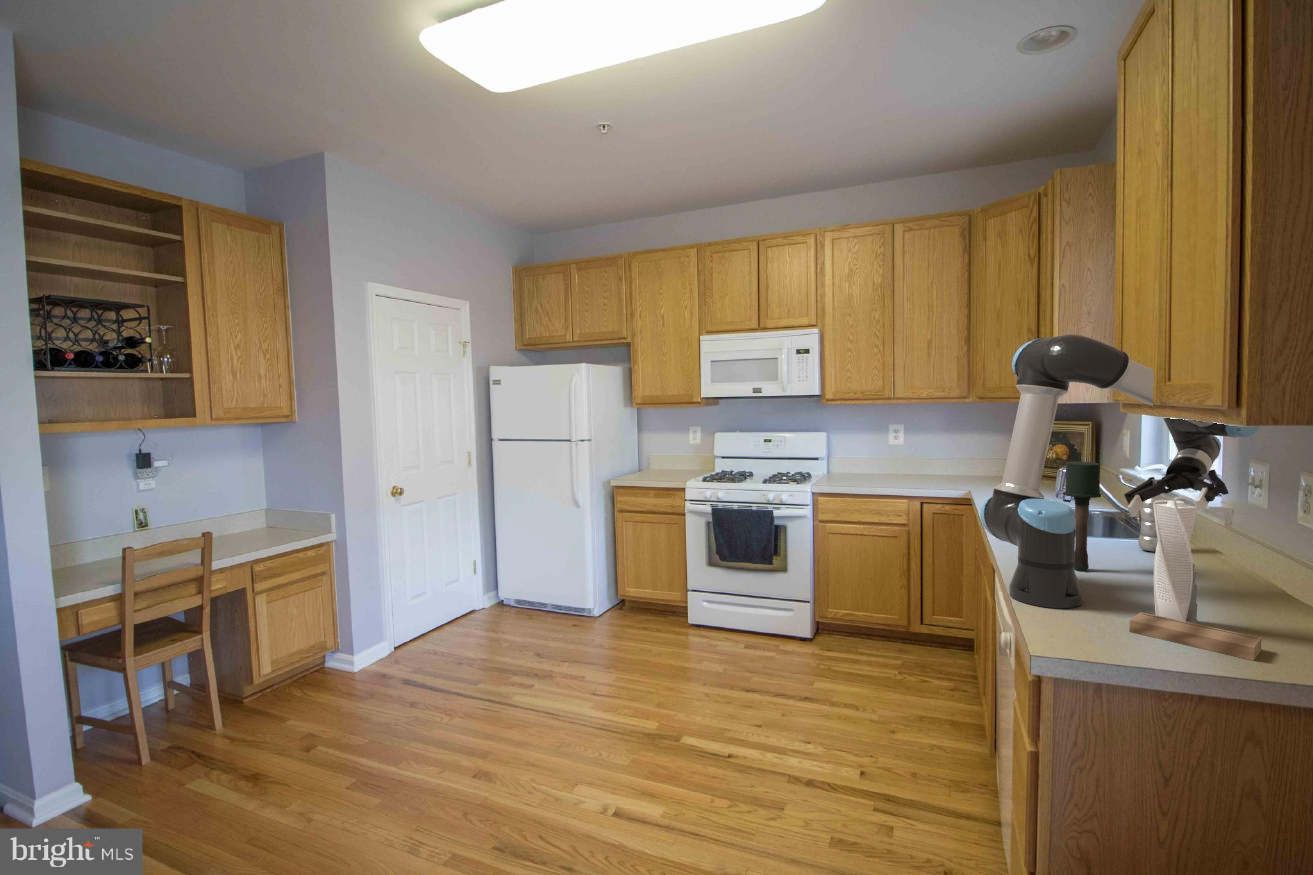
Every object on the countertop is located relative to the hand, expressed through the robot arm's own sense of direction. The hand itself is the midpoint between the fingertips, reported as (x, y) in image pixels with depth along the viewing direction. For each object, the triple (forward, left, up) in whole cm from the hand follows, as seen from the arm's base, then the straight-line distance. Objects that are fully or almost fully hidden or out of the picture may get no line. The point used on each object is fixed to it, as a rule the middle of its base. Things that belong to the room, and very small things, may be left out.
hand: (1164, 509), depth 148 cm
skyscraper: (-1, -16, -22) cm, 28 cm away
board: (0, -27, -22) cm, 35 cm away
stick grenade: (-13, +23, -22) cm, 34 cm away
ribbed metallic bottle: (+9, +54, -22) cm, 59 cm away
